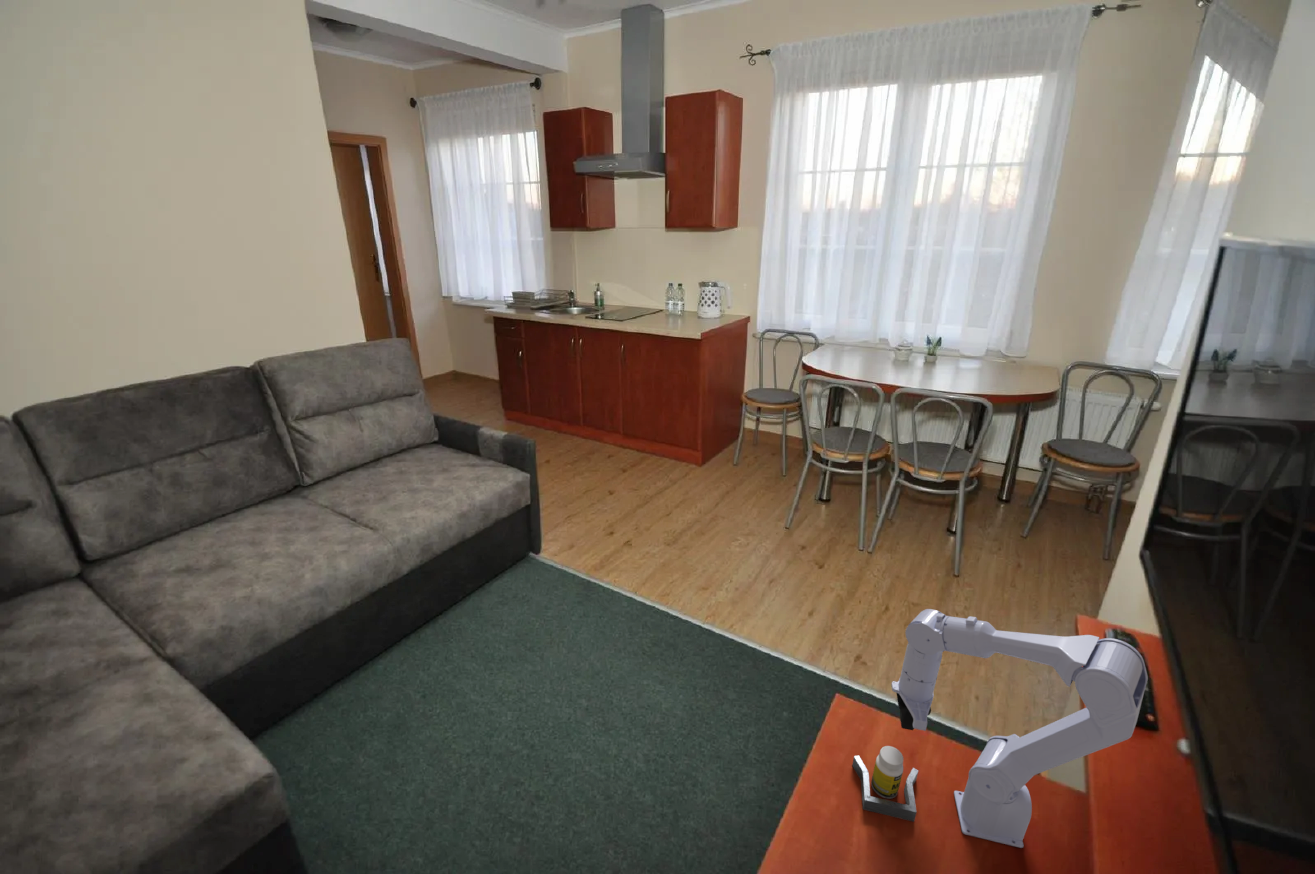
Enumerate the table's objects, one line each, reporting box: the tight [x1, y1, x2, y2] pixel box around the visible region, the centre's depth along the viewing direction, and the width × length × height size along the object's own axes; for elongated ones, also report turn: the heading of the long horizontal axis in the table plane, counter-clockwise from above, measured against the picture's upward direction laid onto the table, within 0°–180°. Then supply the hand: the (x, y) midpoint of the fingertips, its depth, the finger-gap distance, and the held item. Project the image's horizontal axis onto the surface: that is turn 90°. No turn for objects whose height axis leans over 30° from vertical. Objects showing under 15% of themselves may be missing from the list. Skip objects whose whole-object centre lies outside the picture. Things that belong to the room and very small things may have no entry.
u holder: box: [851, 755, 919, 823], centre depth 107 cm, size 12×9×2 cm
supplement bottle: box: [870, 745, 904, 800], centre depth 107 cm, size 5×5×8 cm
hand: (906, 726), depth 109 cm, fingers closed
